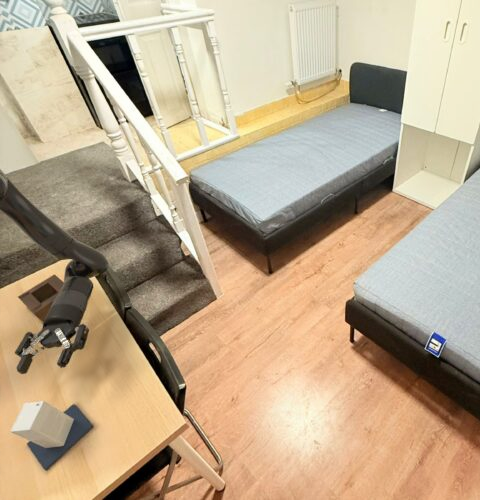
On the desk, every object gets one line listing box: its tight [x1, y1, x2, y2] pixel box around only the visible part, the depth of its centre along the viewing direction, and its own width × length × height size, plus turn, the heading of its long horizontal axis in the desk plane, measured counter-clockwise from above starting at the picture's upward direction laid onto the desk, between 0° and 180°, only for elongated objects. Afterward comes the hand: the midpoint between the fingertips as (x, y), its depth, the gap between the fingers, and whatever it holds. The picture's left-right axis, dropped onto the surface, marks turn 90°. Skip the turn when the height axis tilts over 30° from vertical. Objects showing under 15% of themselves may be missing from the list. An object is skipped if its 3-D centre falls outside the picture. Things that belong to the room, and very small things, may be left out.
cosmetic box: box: [9, 400, 74, 448], centre depth 75 cm, size 6×4×12 cm
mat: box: [26, 403, 94, 471], centre depth 79 cm, size 11×9×1 cm
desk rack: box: [17, 273, 64, 323], centre depth 106 cm, size 11×11×5 cm
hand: (41, 369), depth 76 cm, fingers open, 8 cm apart
